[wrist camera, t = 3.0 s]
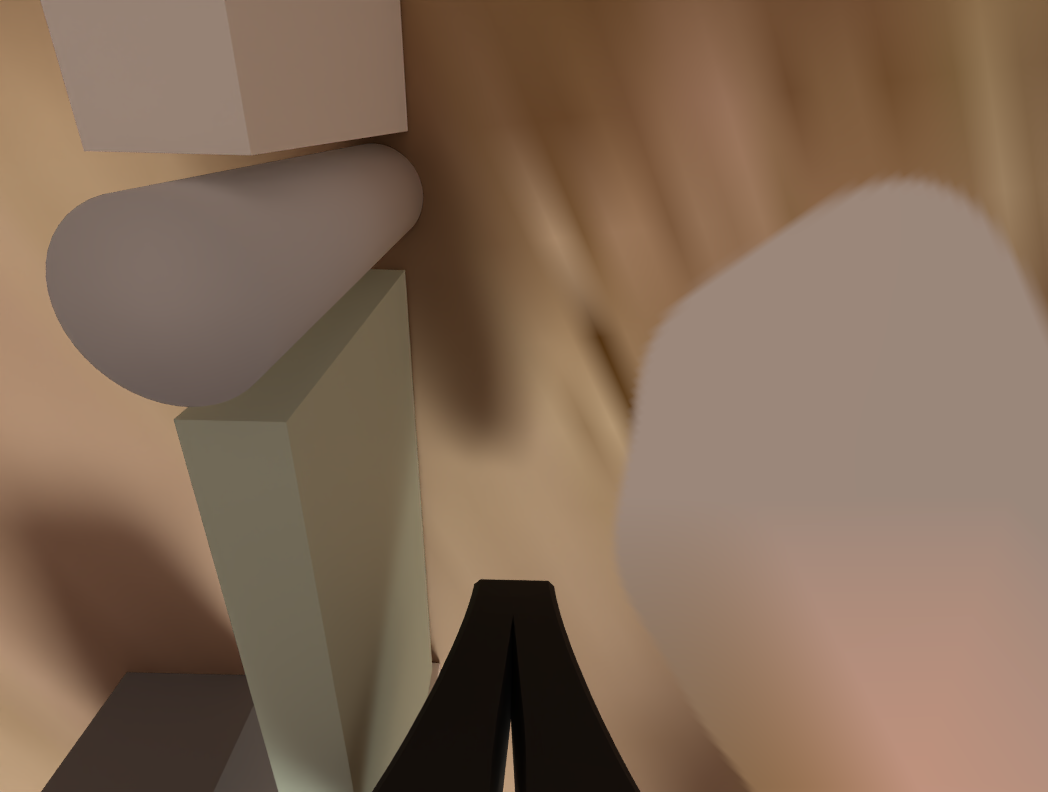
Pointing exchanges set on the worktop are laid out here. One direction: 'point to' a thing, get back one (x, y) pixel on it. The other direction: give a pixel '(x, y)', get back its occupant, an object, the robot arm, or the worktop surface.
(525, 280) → the worktop surface
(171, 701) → the grey block
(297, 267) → the wall frame
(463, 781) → the robot arm
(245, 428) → the door
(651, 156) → the worktop surface
